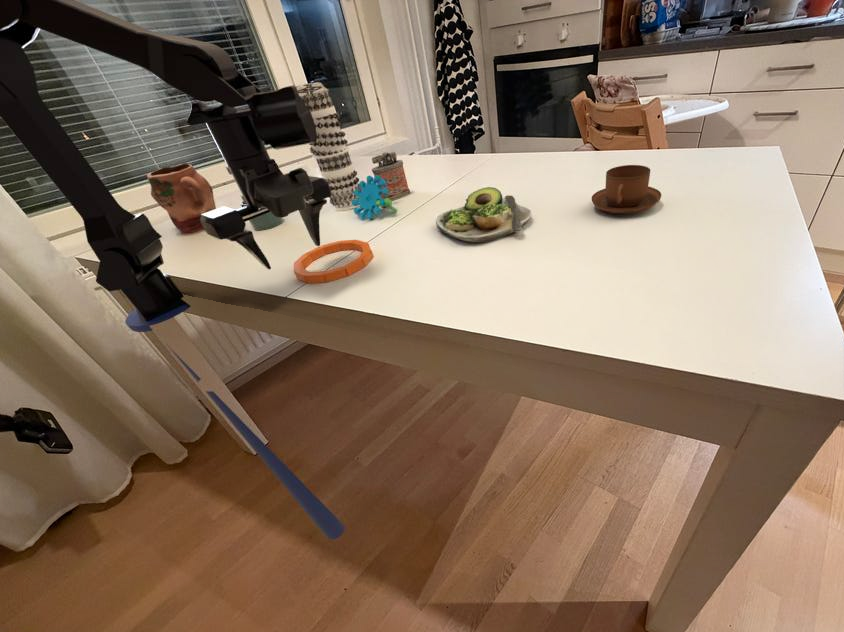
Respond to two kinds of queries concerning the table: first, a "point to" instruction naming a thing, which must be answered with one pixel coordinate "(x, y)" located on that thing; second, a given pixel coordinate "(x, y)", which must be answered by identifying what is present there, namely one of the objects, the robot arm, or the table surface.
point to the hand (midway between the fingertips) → (294, 256)
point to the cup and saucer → (626, 190)
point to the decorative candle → (330, 147)
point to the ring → (336, 272)
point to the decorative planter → (182, 195)
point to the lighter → (391, 175)
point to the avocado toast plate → (484, 217)
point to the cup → (264, 220)
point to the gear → (371, 198)
